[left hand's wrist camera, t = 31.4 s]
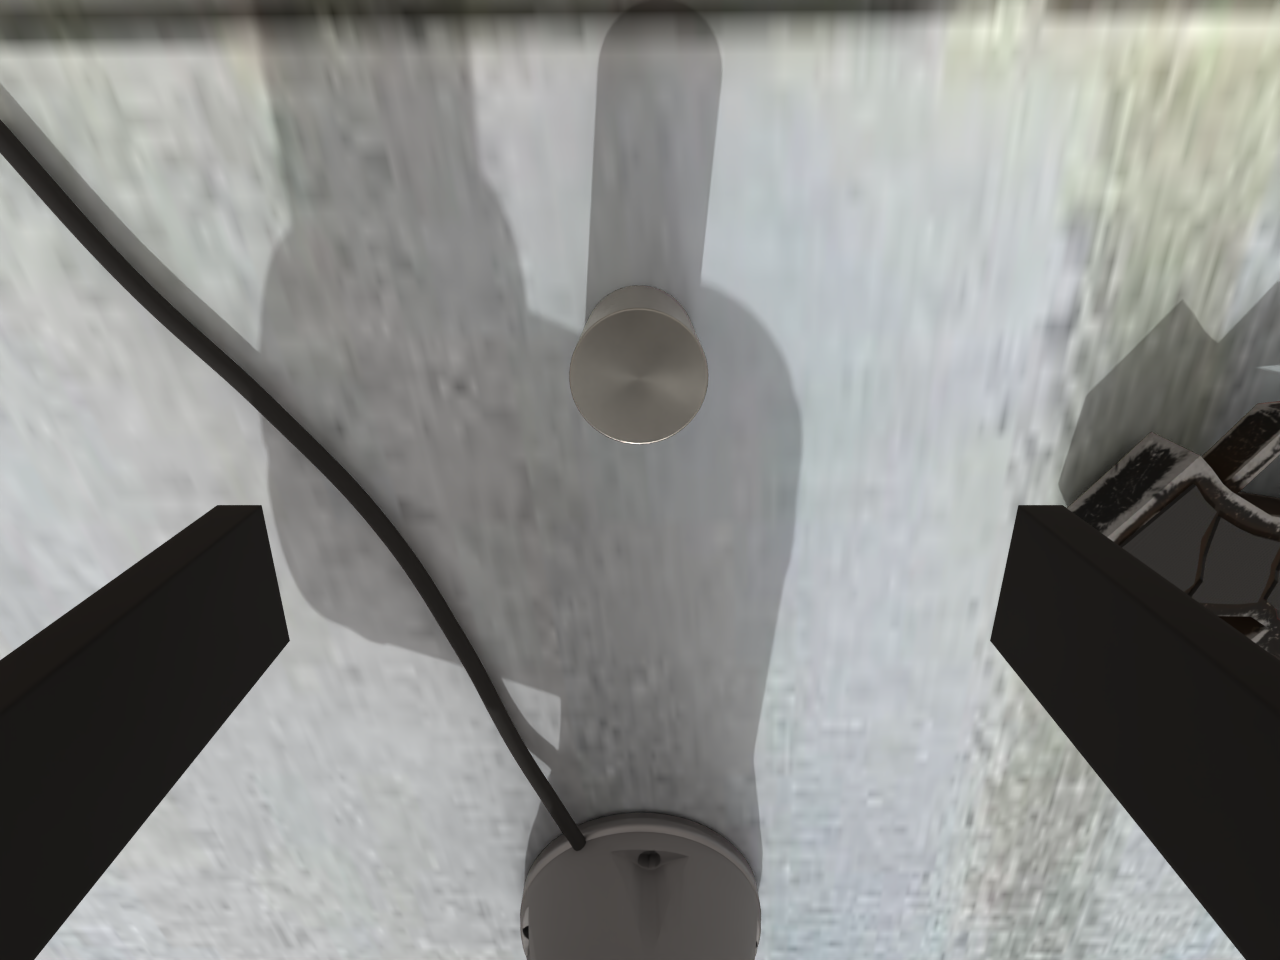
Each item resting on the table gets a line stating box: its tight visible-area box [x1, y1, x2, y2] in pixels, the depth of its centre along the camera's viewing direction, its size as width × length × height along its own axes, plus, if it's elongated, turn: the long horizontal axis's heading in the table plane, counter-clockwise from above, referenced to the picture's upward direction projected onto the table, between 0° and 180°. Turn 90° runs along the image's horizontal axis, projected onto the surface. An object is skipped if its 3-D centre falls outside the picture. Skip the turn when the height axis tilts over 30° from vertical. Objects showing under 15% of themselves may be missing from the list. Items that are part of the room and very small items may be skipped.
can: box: [569, 285, 708, 444], centre depth 30 cm, size 5×5×8 cm
